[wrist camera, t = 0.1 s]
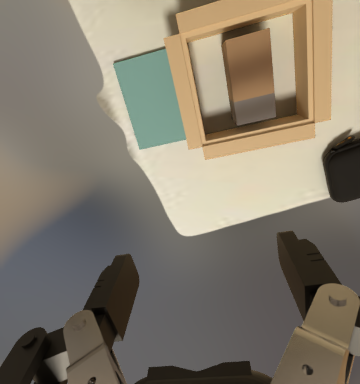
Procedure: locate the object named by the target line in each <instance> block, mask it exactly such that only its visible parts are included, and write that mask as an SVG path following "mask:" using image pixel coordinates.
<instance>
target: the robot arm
mask: <svg viewBox="0 0 360 384" xmlns="http://www.w3.org/2000/svg"><path fill="white" fill-rule="evenodd" d="M277 245H278V255H279V261H280V265H281V268H282V270H283V273H284V275H285V278H286V280H287V283H288V285H289V287H290V290H291V292H292V294H293V297H294V299H295V301H296V304H297V306H298V309H299V311H300V313H301V316H302V318H303V321H304V323H303V325H302V326H301V327H299V326H298V327H297V328H296V329H295V330H294V332H293V335H292V337H291V339H290V341H289V344H288V346H287V348H286V350H285V353H284V355H283V357H282V359H281V361H280V364H279V366H278V368H277V370H276V373H275V375H274V377H273V378H271V377H269V376H267V375H265V374H263V373H260V372H258V371H253V370H251V366H250V362H249V361H241V362H225V363H221V364H218V365H215V366H212V367H210V368H207V369H204V370H201V371H197V372H196V371H192V370H187V369H183V368H179V367H174V366H162V367H149V369H148V375H147V377H145V378H143V379H141V380H139V381H138V382H136V383H135V384H348V382H349V377H350V373H351V369H352V365H353V361H354V357H355V355H356V356H360V297H359V296H357V294H355V293H354V291H352V290H351V289H349V288H348V287H346V286H343V285H342V284H341V283H340V281H339V280H338V278H337V277H336V275H335V274H334V272H333V271H332V269H331V268H330V267H329V265H328V264H327V262H326V261H325V260H324V258H323V256H322V255H321V254H320V252H319V250H318V249H317V247H316V246H315V245H314V244H313V243H311V242H310V241H308V240H307V239H302V240H298V239H297V237H296V235H295V234H294V232H293V231H286V232H278V233H277ZM138 287H139V275H138V272H137V269H136V267H135V264H134V262H133V259H132V257H131V255H130V254H124V255H117V256H115V258H114V260H113V262H112V264H111V266H108V267H106V268H105V270H104V271H103V272H102V273H101V275H100V276H99V279H98V282H97V283H96V285H95V288H94V289H93V290H92V293H91V295H90V296H89V298H88V300H87V302H86V305H85V306H84V309H83V310H82V311H80V312H78V313H76V314H74V315H73V316H72V317H71V318H70V319H69V320H68V321H67V322H66V324H65V326H64V327H63V328H61V329H58V330H56V331H53V332H51V333H48V334H47V332H46V331H45V329H43V328H41V327H39V328H34V329H32V330H30V331H28V332H27V333H25V334H24V335H23V336H22V337H21V338H20V339H19V340H18V341H17V342H16V344H15V345H14V347H13V348H12V350H11V351H10V353H9V354H8V356H7V358H6V359H5V361H4V362H3V364H2V366H1V367H0V384H30V383H31V381H32V379H33V380H34V381H35V382H34V384H67V382H68V384H127V383H126V381H125V378H124V376H123V373H122V371H121V369H120V366H119V363H118V361H117V358H116V356H115V354H114V351H113V349H112V346H113V343H114V342H115V341H123V337H124V334H125V331H126V327H127V324H128V321H129V317H130V314H131V310H132V307H133V304H134V300H135V297H136V293H137V290H138Z"/></svg>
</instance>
